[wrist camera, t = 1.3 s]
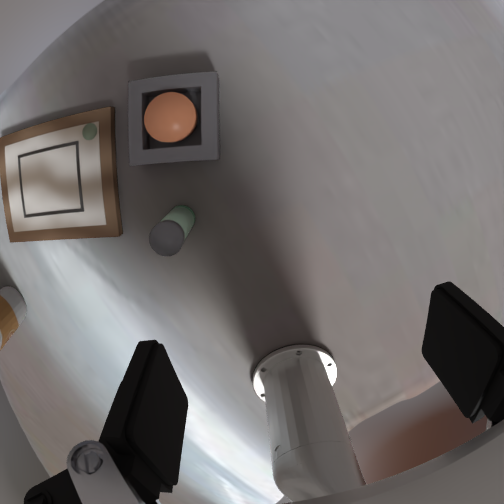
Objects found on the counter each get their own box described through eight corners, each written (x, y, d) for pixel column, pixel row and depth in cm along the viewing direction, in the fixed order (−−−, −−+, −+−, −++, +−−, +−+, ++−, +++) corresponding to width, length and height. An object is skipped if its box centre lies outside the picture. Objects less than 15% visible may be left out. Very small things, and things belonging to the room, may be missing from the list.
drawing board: (122, 233, 33) (118, 236, 32) (14, 239, 32) (9, 242, 31) (114, 107, 28) (109, 106, 26) (3, 137, 27) (-3, 138, 26)
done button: (198, 140, 28) (195, 140, 26) (150, 144, 28) (144, 144, 26) (197, 93, 26) (194, 89, 24) (149, 98, 26) (144, 95, 24)
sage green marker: (196, 230, 33) (184, 255, 26) (170, 231, 33) (151, 256, 26) (194, 204, 32) (181, 222, 25) (167, 205, 32) (147, 223, 25)
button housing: (219, 158, 31) (217, 159, 27) (140, 164, 30) (129, 166, 27) (219, 79, 27) (216, 71, 24) (139, 87, 27) (128, 81, 24)
